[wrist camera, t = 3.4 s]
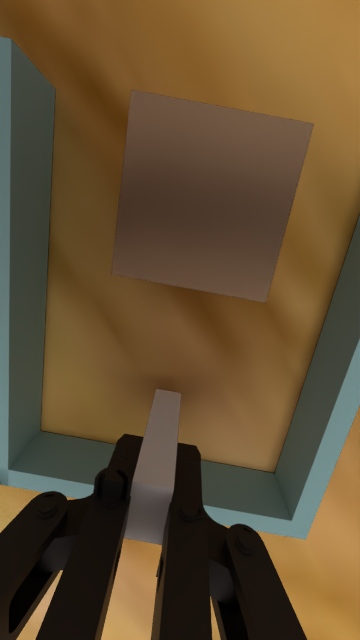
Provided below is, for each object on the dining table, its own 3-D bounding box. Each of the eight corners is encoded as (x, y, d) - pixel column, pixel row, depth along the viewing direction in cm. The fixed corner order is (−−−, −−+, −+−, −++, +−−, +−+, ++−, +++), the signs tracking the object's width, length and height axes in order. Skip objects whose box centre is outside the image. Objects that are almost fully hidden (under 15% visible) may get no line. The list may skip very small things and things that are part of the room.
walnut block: (155, 152, 15) (131, 89, 9) (265, 173, 15) (313, 123, 9) (140, 264, 16) (111, 274, 10) (239, 283, 16) (265, 302, 10)
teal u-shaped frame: (32, 85, 14) (-19, 33, 11) (404, 152, 14) (472, 122, 11) (23, 441, 20) (-12, 482, 16) (286, 489, 20) (305, 539, 16)
